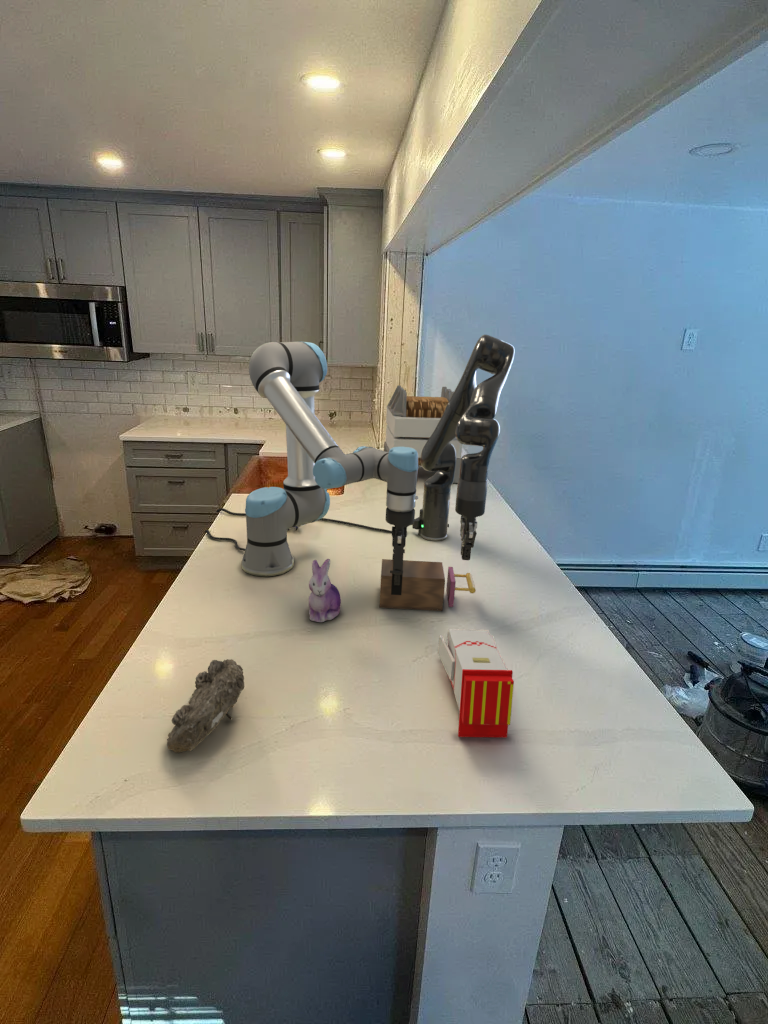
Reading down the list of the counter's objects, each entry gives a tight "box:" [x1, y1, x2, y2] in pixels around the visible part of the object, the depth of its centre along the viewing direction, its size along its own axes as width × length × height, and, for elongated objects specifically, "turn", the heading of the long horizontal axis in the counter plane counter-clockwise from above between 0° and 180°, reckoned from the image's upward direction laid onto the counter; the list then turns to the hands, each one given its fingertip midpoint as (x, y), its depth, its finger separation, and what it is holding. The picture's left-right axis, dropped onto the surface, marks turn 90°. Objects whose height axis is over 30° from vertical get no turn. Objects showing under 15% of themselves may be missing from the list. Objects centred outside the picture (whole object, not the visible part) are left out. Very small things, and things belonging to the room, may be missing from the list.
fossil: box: [166, 658, 245, 754], centre depth 106 cm, size 22×10×15 cm
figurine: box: [308, 558, 342, 623], centre depth 143 cm, size 9×10×15 cm
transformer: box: [383, 384, 463, 484], centre depth 268 cm, size 34×33×41 cm
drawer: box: [443, 566, 477, 608], centre depth 153 cm, size 21×9×8 cm, turn 88°
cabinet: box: [379, 558, 446, 612], centre depth 153 cm, size 17×10×9 cm, turn 88°
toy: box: [437, 628, 515, 738], centre depth 117 cm, size 12×13×30 cm
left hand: (396, 584), depth 154 cm, fingers closed on cabinet, 10 cm apart
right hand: (465, 557), depth 150 cm, fingers closed
